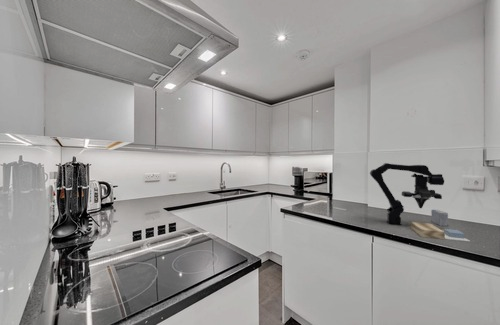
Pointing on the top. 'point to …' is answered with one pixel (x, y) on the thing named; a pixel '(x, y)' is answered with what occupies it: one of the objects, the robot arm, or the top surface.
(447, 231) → the tile
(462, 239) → the mat
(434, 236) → the deck
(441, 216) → the medicine box
